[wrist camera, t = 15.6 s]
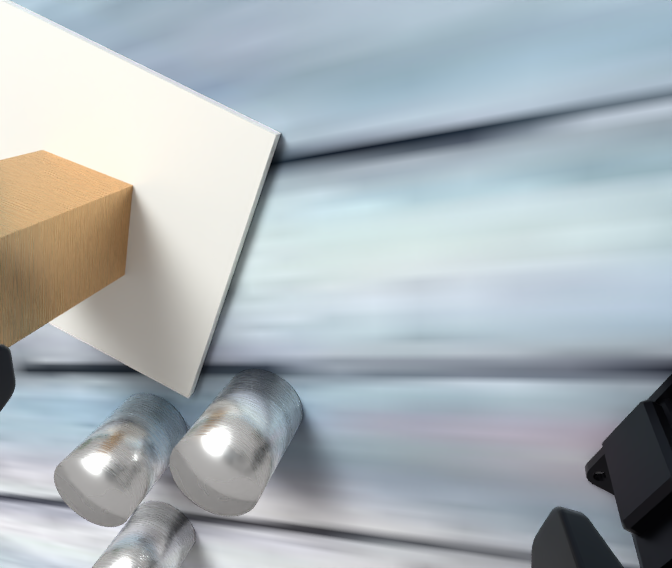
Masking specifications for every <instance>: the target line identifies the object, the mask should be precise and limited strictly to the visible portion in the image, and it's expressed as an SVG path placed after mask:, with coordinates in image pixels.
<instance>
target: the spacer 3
mask: <svg viewBox="0 0 672 568" xmlns="http://www.w3.org/2000/svg"><path fill="white" fill-rule="evenodd" d="M302 415H303V411H302V405H301V402H300V399H299V397H298V395H297V393H296V392H295V390H294V389H293V388H292V387H291V386H290V385H289V384H288V383H287V382H286V381H285V380H284V379H282V378H281V377H279V376H277V375H276V374H274V373H271V372H268V371H265V370H260V369H249V370H244V371H242V372H240V373H238V374H236V375H235V376H234V377H233V378H232V379H231V380H230V381H229V383H228V384H227V385H226V386H225V387H224V389H223V390H222V391H221V392H220V393H219V395H218V396H217V397H216V398H215V399H214V401H213V402H212V403H211V404H210V405H209V407H208V408H207V409H206V410H205V411H204V413H203V414H202V415H201V416H200V417H199V419H198V420H197V421H196V422H195V423H194V425H193V426H192V427H191V428H190V429H189V430H188V432H187V433H186V434H185V435H184V436H183V438H182V439H181V440H180V441H179V442H178V444H177V445H176V446H175V447H174V449H173V450H172V452H171V455H170V471H171V474H172V477H173V479H174V481H175V483H176V484H177V486H178V487H179V489H180V490H181V491H182V492H183V494H184V495H185V496H186V497H187V498H188V499H190V500H191V501H192V502H193V503H195V504H196V505H198V506H199V507H201V508H203V509H204V510H207V511H209V512H211V513H214V514H218V515H222V516H239V515H243V514H245V513H247V512H249V511H250V510H251V509H253V508H254V506H255V505H256V503H257V502H258V500H259V498H260V496H261V494H262V493H263V491H264V489H265V487H266V485H267V483H268V482H269V480H270V478H271V476H272V474H273V473H274V471H275V469H276V467H277V465H278V464H279V462H280V460H281V458H282V456H283V454H284V453H285V451H286V449H287V447H288V445H289V444H290V442H291V440H292V438H293V436H294V434H295V433H296V431H297V429H298V427H299V425H300V423H301V420H302Z"/></svg>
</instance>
